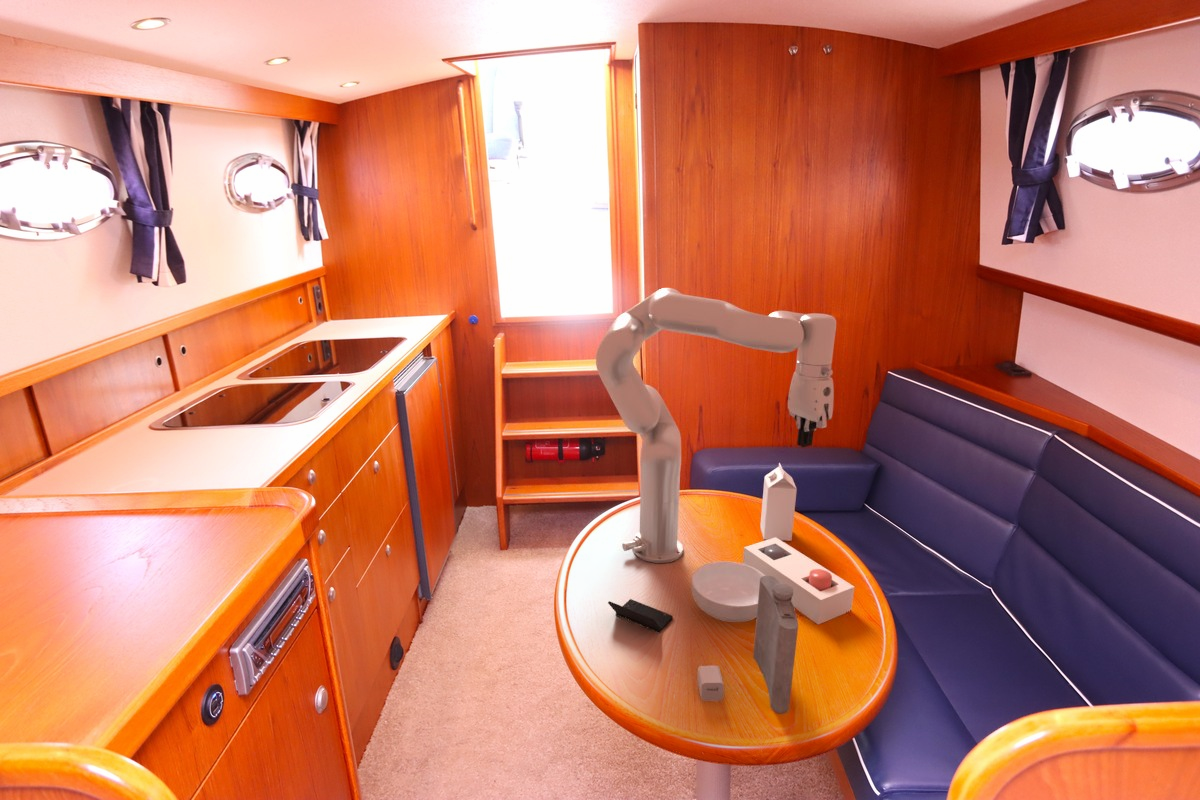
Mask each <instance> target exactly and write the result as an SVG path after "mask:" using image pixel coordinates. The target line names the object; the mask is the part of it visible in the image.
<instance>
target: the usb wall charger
mask: <svg viewBox="0 0 1200 800" xmlns="http://www.w3.org/2000/svg"><path fill="white" fill-rule="evenodd" d="M696 679H697V680H696V681H697V686H698V690H699V695H700V700H701V701H703V702H709V701H710V702H721V701H722V700H724V694H725V693H724V692H725V682H724V681H723V676H722V672H721V669H720V666H718V665H713V664H712V663H711V664H710V665H702V663H700V665H699V666H698V668H697V678H696Z"/></svg>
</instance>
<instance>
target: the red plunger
mask: <svg viewBox="0 0 1200 800" xmlns="http://www.w3.org/2000/svg"><path fill="white" fill-rule="evenodd" d="M831 580H832V575H831V574H830V573H829V572H827V571H825V570H821V569H814V570H811V571H810V574H809V583H808V584H810V585H811V586H813V587H814V588H816V589H817V590H819V591H820V592H821V591H824V590H826V589H829V588H831Z"/></svg>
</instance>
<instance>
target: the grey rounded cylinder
mask: <svg viewBox="0 0 1200 800" xmlns="http://www.w3.org/2000/svg"><path fill="white" fill-rule="evenodd" d="M764 554H765V555H767V556H768V557H770V558H771V559H773V560H777V559H780V558H783V557H784V556H785V550H784V549H783V548H781V547H779V546H775V545H770V546H767V547H765V551H764Z"/></svg>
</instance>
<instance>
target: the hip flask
mask: <svg viewBox="0 0 1200 800" xmlns="http://www.w3.org/2000/svg"><path fill="white" fill-rule="evenodd" d="M792 596H793V588H792V587H791V586H789V585H787V584H782V583H779V582H778V580H777V579H776V578H774V577H772V576H762V577H761V578H760V585H759V597H758V608H757V617H756V619H755V621H756V623H755V633H754V634H755V635H754V644H753V646H754V647H753V656H752V657H753V659H754V660H753V661H755V663H756V664H757V667H758V668H759V669H760V671H761V674H762V676H763V679H764V682H765V684H766V687H767V690H768V691H767V692H768V696H769V703H770V705H769V706H770V708H771V710H772V711H773V712H775V713H777V714H783V715H784V714H787V713H788V712H789V710H790V703H791V693H792V682H793V674H794V667H795V666H794V665H795V658H796V657H795V656H796V647H797V638H798V632H799V631H798V629H799V621H798V617H797V616H798V615H797V613H796V610H795V609H796V608H794V607H793V604H792V602H791V599H792Z"/></svg>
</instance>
